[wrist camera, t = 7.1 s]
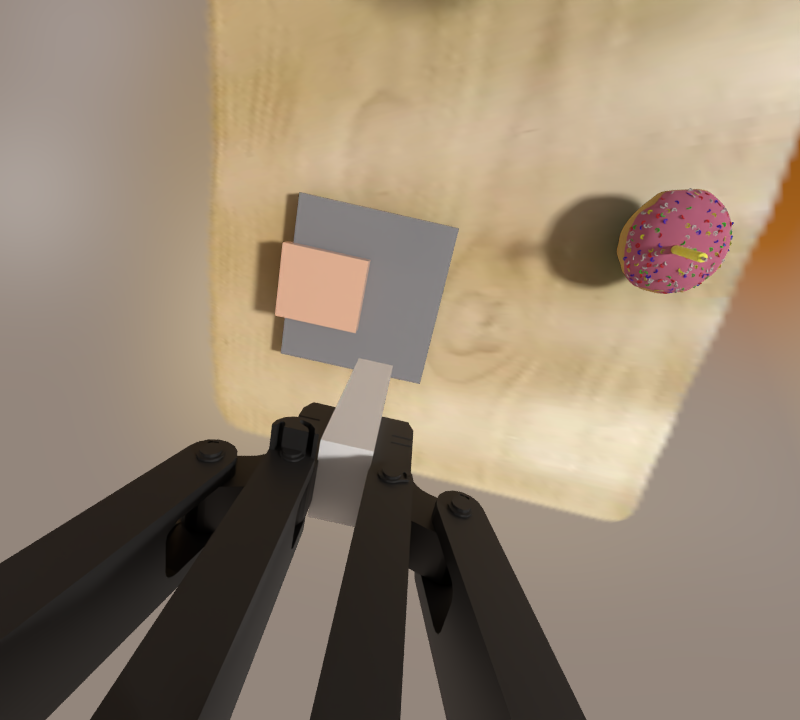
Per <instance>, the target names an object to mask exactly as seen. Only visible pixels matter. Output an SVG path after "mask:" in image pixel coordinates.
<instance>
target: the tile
mask: <svg viewBox="0 0 800 720" xmlns="http://www.w3.org/2000/svg"><path fill="white" fill-rule="evenodd" d="M370 261H371V260H370V259H365V258H361V257H356V256H352V255H347V254H343V253H339V252H334V251H330V250H325V249H321V248H316V247H312V246H308V245H303V244H299V243H294V242H290V241H287V242H283V245H282V254H281V264H280V273H279V282H278V292H277V301H276V311H275V316H280V317H284V318H289V319H293V320H298V321H303V322H307V323H312V324H316V325H321V326H325V327H330V328H334V329H339V330H343V331H348V332H352V333H356V331H357V330H358V326H359V321H360V315H361V310H362V304H363V299H364V293H365V288H366V283H367V277H368V272H369V266H370Z"/></svg>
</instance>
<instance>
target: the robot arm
mask: <svg viewBox="0 0 800 720" xmlns="http://www.w3.org/2000/svg"><path fill="white" fill-rule="evenodd" d="M392 368H393V366H392V365H387V364H383V363H379V362H374V361H370V360H365V359H361V358H359V359H358V361H357V363H356V365H355V367H354V370H353V372H352V374H351V376H350V378H349V380H348V382H347V385H346V387H345V389H344V391H343V393H342V395H341V397H340V400H339V402H338V404H337V406H336V407H332V406H328V405H323V404H319V403H314V402H313V403H311V404H309V405H308V406H306V407H304V408H303V410H302V411H301V413H300V414H299V417H284V418H281V419H278V420H276V421H275V422H274V423H273V424H272V430H271V438H270V447H269V450H268V452H267V453H266V454H263V455H258V456H237V449H236V448H235V446H234V445H232V444H230V443H229V442H226V441H222V440H204V441H199V442H196V443H194V444H192V445H190V446H188V447H187V448H185V449H184V450H182V451H180V452H179V453H177V454H175V455H174V456H172V457H171V458H169V459H167V460H166V461H164V462H163V463H161V464H159V465H158V466H156V467H154V468H153V469H151V470H150V471H148V472H146V473H145V474H143V475H142V476H140V477H138V478H137V479H135V480H133V481H132V482H130V483H129V484H127V485H125V486H124V487H122V488H121V489H119V490H117V491H116V492H114V493H113V494H111V495H109V496H108V497H106V498H105V499H103V500H102V501H100V502H98V503H97V504H95V505H94V506H92V507H90V508H88V509H87V510H85V511H84V512H82V513H81V514H79V515H77V516H76V517H74V518H72V519H71V520H69V521H68V522H66V523H65V524H63V525H61V526H60V527H58V528H56V529H55V530H53V531H51V532H50V533H48V534H47V535H45V536H43V537H42V538H40V539H39V540H37V541H35V542H34V543H32V544H31V545H29V546H28V547H26V548H24V549H23V550H21V551H19V552H18V553H16V554H14V555H13V556H11V557H10V558H8V559H7V560H5V561H3V562H2V563H0V720H46V719H47V718H48V717H49V716H50V715H51V714H52V713H53V712H54V711H55V710H56V709H57V708H58V707H59V706H60V705H61V703H63V702H64V700H66V699H67V698H68V697H69V696H70V695H71V694H72V692H74V691H75V689H77V688H78V687H79V685H80V684H82V682H83V681H85V679H86V678H87V677H88V676H89V675H90V674H91V673H92V672H93V671H94V670H95V669H96V668H97V667H98V666H99V665H100V664H101V663H102V662H103V661H104V660H105V659H106V658H107V657H108V656H109V655H110V654H111V653H112V652H113V651H114V650H115V649H116V648H117V647H118V646H119V645H120V644H121V643H122V642H123V641H124V640H125V639H126V638H127V637H128V636H129V635H130V634H131V633H132V632H133V631H134V630H135V629H136V628H137V627H138V626H139V625H140V624H141V623H142V622H143V621H144V620H145V619H146V618H147V617H148V616H149V615H150V614H151V613H152V612H153V611H154V610H155V609H156V608H157V607H158V606H159V605H160V604H161V603H162V602H163V601H164V600H165V599H166V598H167V597H168V596H169V595H170V594H171V593H172V592H173V591H174V590H175V589H176V588H177V587H178V588H177V589H176V591H175V592H174V594H173V595H172V597H171V598H170V600H169V601H168V603H167V604H166V606H165V607H164V609H163V610H162V612H161V613H160V615H159V616H158V618H157V619H156V621H155V622H154V624H153V625H152V627H151V628H150V630H149V631H148V633H147V634H146V636H145V637H144V639H143V640H142V642H141V643H140V645H139V646H138V648H137V649H136V651H135V652H134V654H133V656H132V657H131V659H130V660H129V662H128V663H127V665H126V666H125V668H124V669H123V671H122V672H121V674H120V675H119V677H118V678H117V680H116V682H115V683H114V684H113V686H112V687H111V689H110V690H109V692H108V694H107V695H106V696H105V698H104V700H103V701H102V703H101V704H100V705H99V707H98V708H97V710H96V712H95V713H94V714H93V716H92V718H91V719H90V720H230V718H231V716H232V713H233V710H234V708H235V705H236V702H237V700H238V697H239V695H240V692H241V689H242V687H243V684H244V682H245V679H246V676H247V674H248V671H249V669H250V666H251V664H252V661H253V659H254V656H255V653H256V651H257V648H258V646H259V643H260V640H261V638H262V635H263V633H264V630H265V627H266V625H267V622H268V620H269V617H270V615H271V612H272V609H273V607H274V604H275V602H276V599H277V596H278V593H279V591H280V589H281V586H282V583H283V581H284V578H285V576H286V573H287V570H288V568H289V565H290V563H291V560H292V558H293V555H294V552H295V550H296V547H297V545H298V542H299V539H300V537H301V534H302V532H303V528H304V522H305V516H306V514H307V511H308V509H309V512H308V517H312V518H317V519H321V520H326V521H330V522H335V523H339V524H344V525H348V526H353V527H355V528H354V533H353V538H352V542H351V546H350V550H349V554H348V559H347V563H346V567H345V572H344V576H343V580H342V585H341V589H340V593H339V597H338V601H337V606H336V610H335V614H334V619H333V623H332V627H331V632H330V635H329V640H328V644H327V648H326V653H325V657H324V661H323V666H322V670H321V674H320V679H319V683H318V687H317V691H316V695H315V700H314V704H313V708H312V713H311V717H310V720H400V714H401V695H402V677H403V659H404V642H405V640H404V639H405V624H406V623H405V622H406V605H407V587H408V569H411V570H413V571H415V582H416V587H417V591H418V596H419V600H420V604H421V608H422V613H423V618H424V622H425V626H426V631H427V635H428V640H429V644H430V648H431V653H432V657H433V662H434V666H435V670H436V675H437V679H438V684H439V688H440V693H441V697H442V701H443V706H444V710H445V714H446V719H447V720H586V718H585V716H584V714H583V712H582V710H581V708H580V706H579V704H578V702H577V700H576V698H575V696H574V693H573V691H572V689H571V688H570V685H569V683H568V681H567V679H566V677H565V675H564V673H563V671H562V669H561V667H560V665H559V663H558V661H557V659H556V657H555V655H554V653H553V651H552V649H551V647H550V645H549V642H548V640H547V638H546V637H545V635H544V632H543V630H542V628H541V626H540V624H539V622H538V620H537V618H536V616H535V614H534V612H533V610H532V608H531V606H530V604H529V602H528V600H527V598H526V596H525V594H524V591H523V589H522V588H521V585H520V583H519V581H518V579H517V577H516V575H515V573H514V571H513V569H512V567H511V565H510V563H509V561H508V559H507V557H506V555H505V553H504V551H503V549H502V547H501V545H500V543H499V541H498V539H497V536H496V534H495V532H494V530H493V528H492V526H491V524H490V522H489V520H488V518H487V516H486V514H485V512H484V510H483V508H482V507H481V506H480V504H479V503H478V502H477V501H476V500H475V499H474V498H472V497H471V496H469V495H467V494H465V493H462V492H458V491H445V492H443V493H441V494H440V495H439V496H438V498H436V497H434V496H432V495H430V494H428V493H426V492H424V491H422V490H421V489H420V488H419V487H417V486H416V484H415V483H414V482H413V477H412V474H411V460H412V444H413V430H412V428H411V426H410V425H409V423H408V422H404V421H399V420H395V419H390V418H386V417H382V413H383V409H384V404H385V400H386V395H387V391H388V386H389V382H390V377H391V373H392Z"/></svg>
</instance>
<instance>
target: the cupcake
mask: <svg viewBox="0 0 800 720" xmlns="http://www.w3.org/2000/svg"><path fill="white" fill-rule="evenodd" d="M733 223H734V222H732V223H731V221H730V217H729V214H728V212H727V209H726V208H725V206H724V205H723V204H722V203H721V202H720V201H719V200H718V199H717V198H716V197H715V196H714V195H713V194H711V193H710V192H708V191H706V190H701V189H691V188H690V189H688V190H672V191H664V192H661V193H659V194H657V195H656V196H654V197H653V198H652V199H651V200H649V201H648V202H646V203H645V204H644V205H643V206H642V207H641V208H639V209H638V210H637V211H636V212H635V213H634V214H633V215H632V216H631V217H630V219H629V220H628V221H627V223H626V224H625V226H624V227H623V229H622V231H621V233H620V238H619V243H618V247H617V256H618V259H619V261H620V264H621V269H622V272H623V273H624V274H625V276H626V278H627V279H628V280H629V282H630V283H632V284H633V285H634V286H637V287H639V288H641V289H643V290H646V291H650V292H654V293H663V294H667V293H674V292H675V293H676V292H682V291H687V290H689V289H691V288H695V287H696V286H699V285H700V284H702V283H701V282H703V281H704V280H706V279H707V278H708V277H710V276H711V275H712V274H713V273H714V272H716V270H717V269H718V268H720V267H721V263H722V262H724V261H725V259H724V258H725V256H726V254H727V252H728V251H729V246H730V245H731V240H732V237H733V236H731V235H732V227H731V226H732V225H733ZM698 284H699V285H698Z"/></svg>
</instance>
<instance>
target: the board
mask: <svg viewBox="0 0 800 720" xmlns="http://www.w3.org/2000/svg"><path fill="white" fill-rule="evenodd" d="M458 230H459V228H455V227H451V226H447V225H442V224H438V223H433V222H429V221H425V220H420V219H416V218H411V217H407V216H403V215H398V214H394V213H389V212H385V211H381V210H376V209H372V208H367V207H363V206H359V205H354V204H350V203H345V202H341V201H337V200H332V199H328V198H323V197H319V196H315V195H310V194H306V193H301V192H299V200H298V209H297V218H296V226H295V235H294V243H299V244H303V245H308V246H312V247H316V248H321V249H325V250H330V251H334V252H339V253H343V254H347V255H352V256H356V257H361V258H365V259H370V260H371V261H370V266H369V272H368V277H367V283H366V288H365V293H364V299H363V304H362V310H361V315H360V321H359V326H358V330H357V331H356V333H352V332H348V331H343V330H339V329H334V328H330V327H325V326H321V325H316V324H312V323H307V322H303V321H298V320H293V319H289V318H285V321H284V330H283V339H282V347H281V353H282V354H286V355H291V356H295V357H300V358H304V359H309V360H313V361H318V362H323V363H327V364H332V365H336V366H341V367H345V368H350V369H354V367H355V365H356V363H357V361H358V359H359V358H361V359H365V360H370V361H374V362H379V363H383V364H387V365H392V366H393V368H392V373H391V378H395V379H400V380H404V381H409V382H413V383H418V384H420V381H421V377H422V373H423V369H424V365H425V361H426V357H427V353H428V349H429V345H430V341H431V337H432V333H433V329H434V325H435V321H436V318H437V314H438V310H439V306H440V302H441V298H442V294H443V290H444V286H445V282H446V278H447V274H448V270H449V266H450V262H451V258H452V254H453V250H454V246H455V242H456V238H457V234H458Z"/></svg>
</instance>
